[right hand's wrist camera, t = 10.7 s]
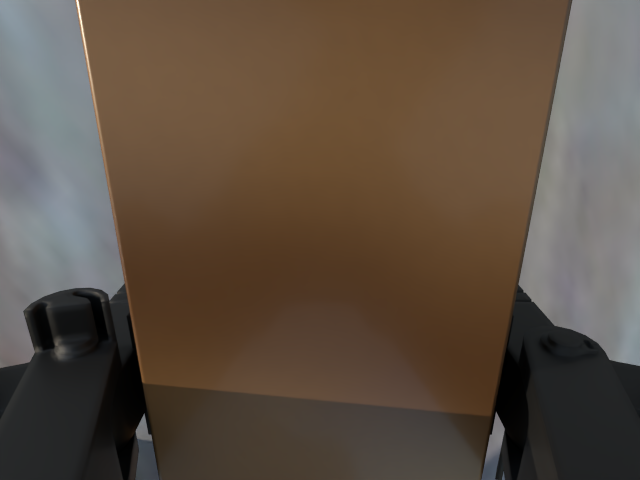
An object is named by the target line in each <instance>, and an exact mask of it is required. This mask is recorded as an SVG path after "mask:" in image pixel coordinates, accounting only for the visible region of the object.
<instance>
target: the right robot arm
mask: <svg viewBox="0 0 640 480" xmlns="http://www.w3.org/2000/svg"><path fill="white" fill-rule="evenodd" d="M23 312H24V315H25V319H26V322H27V326H28V329H29V333H30V336H31V340H32V343H33V347H34V350H35V354H34V356H33V357H32V359H31V361H30V362H29V363H25V364H20V365H15V366H9V367H4V368H0V480H135V477H136V469H137V461H138V453H139V448H138V442H137V437H136V432H135V431H136V429H137V427H138V425H139V423H140V421H141V419H142V417H143V415H144V413H145V418H146V423H147V428H148V434H151V429H150V423H149V417H148V412H147V406H146V400H145V395H144V389H143V383H142V377H141V372H140V366H139V360H138V355H137V349H136V343H135V338H134V332H133V326H132V321H131V315H130V309H129V303H128V298H127V292H126V286H125V284H124V285H123V286H122V287H121V288H120V290H119V291H118V292H117V294H115V295H114V296H113V298H112V299H111V300H110V301H109V298H108V294H107V293H105V292H104V291H102V290H99V289H94V288H75V289H69V290H64V291H59V292H56V293H53V294H50V295H47V296H45V297H43V298H41V299H39V300H37V301H35V302H33V303H32V304H30V305H29V306H28V307H27V308H26V309H25V310H24V311H23ZM496 412H497V414H498V416H499V418H500V420H501V422H502V424H503V426H504V428H505V432H504V437H503V442H502V447H501V452H500V457H499V461H498V466H497V472H496V478H495V479H496V480H502V476H503V471H504V476H505V480H640V366H636V365H631V364H626V363H620V362H616V361H611V360H609V359H608V357H607V355H606V353H605V351H604V350H603V349H602V348H601V347H600V345H599V344H598V343H596V342H595V341H593V340H592V339H590V338H589V337H587V336H586V335H583V334H581V333H578V332H576V331H573V330H571V329H566V328H562V327H557V326H554V325H553V324H552V322H551V321H550V320H549V319H548V318H547V317H546V316H545V314H544V313H543V312H542V311H541V310H540V309H539V308H538V307H537V305H536V304H535V303H534V302H531V299H530V297H529V296H528V295H527V294H526V293H523V290H522V288H521V287H520V286H519V285H518V289H517V294H516V299H515V304H514V310H513V315H512V320H511V326H510V331H509V336H508V341H507V347H506V352H505V357H504V363H503V368H502V373H501V378H500V384H499V389H498V394H497V399H496V405H495V410H494V415H493V421H492V426H491V431H490V435H492V430H493V425H494V419H495V414H496Z"/></svg>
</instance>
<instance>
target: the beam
mask: <svg viewBox="0 0 640 480" xmlns="http://www.w3.org/2000/svg"><path fill="white" fill-rule="evenodd" d="M75 2H76V7H77V13H78V19H79V25H80V30H81V36H82V42H83V47H84V53H85V59H86V64H87V70H88V76H89V81H90V87H91V93H92V99H93V104H94V110H95V116H96V121H97V127H98V133H99V138H100V144H101V150H102V155H103V161H104V167H105V173H106V178H107V184H108V190H109V195H110V201H111V207H112V212H113V218H114V224H115V229H116V235H117V241H118V247H119V252H120V258H121V264H122V269H123V275H124V281H125V286H126V292H127V298H128V303H129V309H130V315H131V321H132V326H133V332H134V338H135V343H136V349H137V355H138V360H139V366H140V372H141V377H142V383H143V389H144V395H145V400H146V406H147V412H148V417H149V423H150V429H151V434H152V440H153V446H154V451H155V457H156V463H157V469H158V474H159V480H481V479H482V473H483V468H484V463H485V457H486V452H487V447H488V442H489V436H490V431H491V426H492V421H493V415H494V410H495V405H496V399H497V394H498V389H499V384H500V378H501V373H502V368H503V363H504V357H505V352H506V347H507V341H508V336H509V331H510V326H511V320H512V315H513V310H514V304H515V299H516V294H517V289H518V283H519V278H520V273H521V268H522V262H523V257H524V252H525V246H526V241H527V236H528V231H529V225H530V220H531V215H532V210H533V204H534V199H535V194H536V188H537V183H538V178H539V173H540V167H541V162H542V157H543V152H544V146H545V141H546V136H547V130H548V125H549V120H550V115H551V109H552V104H553V99H554V94H555V88H556V83H557V78H558V72H559V67H560V62H561V57H562V51H563V46H564V41H565V36H566V30H567V25H568V20H569V14H570V9H571V4H572V0H75Z"/></svg>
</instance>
